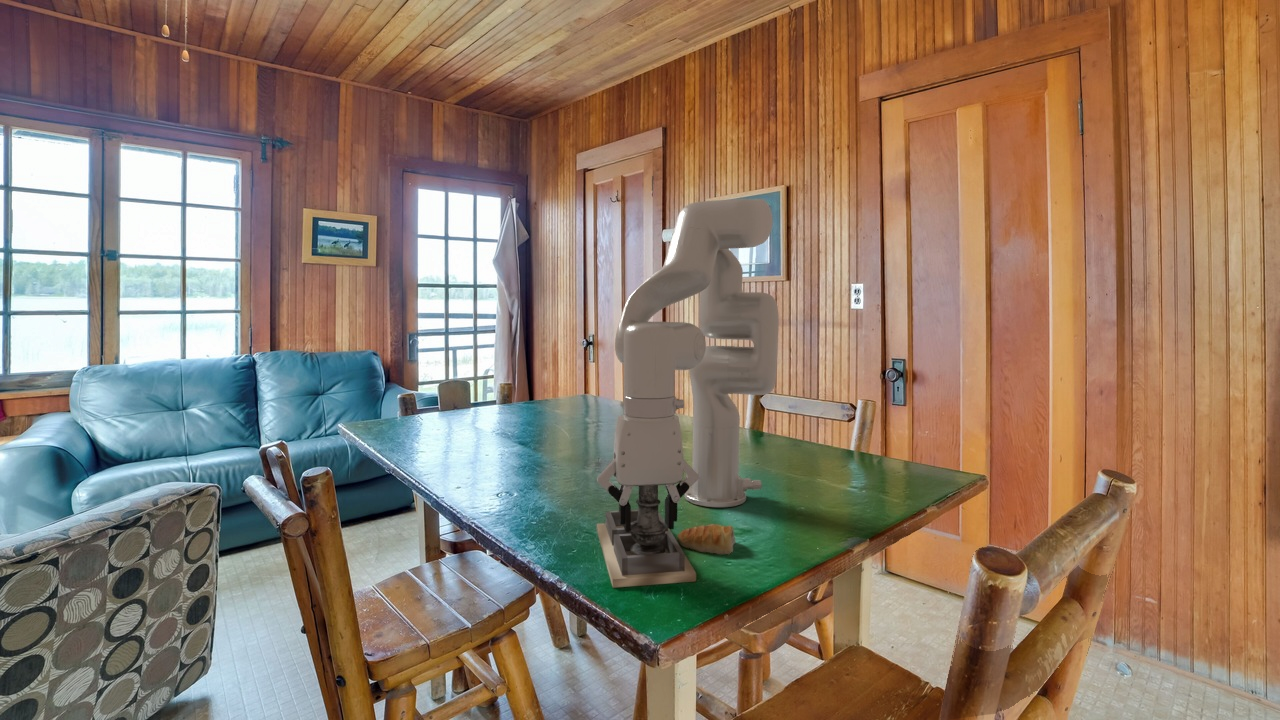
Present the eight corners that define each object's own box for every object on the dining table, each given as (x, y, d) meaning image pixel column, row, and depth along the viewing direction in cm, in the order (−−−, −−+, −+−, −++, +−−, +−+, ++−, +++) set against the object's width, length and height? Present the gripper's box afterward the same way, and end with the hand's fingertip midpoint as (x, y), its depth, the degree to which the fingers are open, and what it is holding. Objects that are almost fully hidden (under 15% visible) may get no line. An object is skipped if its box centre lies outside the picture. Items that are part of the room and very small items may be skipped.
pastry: (674, 552, 95) (675, 529, 94) (680, 537, 101) (680, 515, 101) (733, 557, 93) (734, 534, 93) (735, 542, 99) (736, 519, 99)
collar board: (663, 526, 106) (663, 506, 105) (696, 581, 84) (696, 556, 84) (596, 530, 103) (596, 509, 103) (612, 587, 82) (612, 561, 82)
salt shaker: (664, 559, 85) (664, 477, 84) (624, 555, 86) (624, 475, 85) (670, 543, 90) (671, 467, 89) (632, 540, 92) (633, 465, 91)
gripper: (698, 403, 92) (697, 515, 93) (588, 405, 89) (588, 521, 90) (712, 410, 84) (710, 533, 86) (592, 413, 81) (592, 540, 83)
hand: (648, 526), depth 88 cm, fingers closed on salt shaker, 5 cm apart
